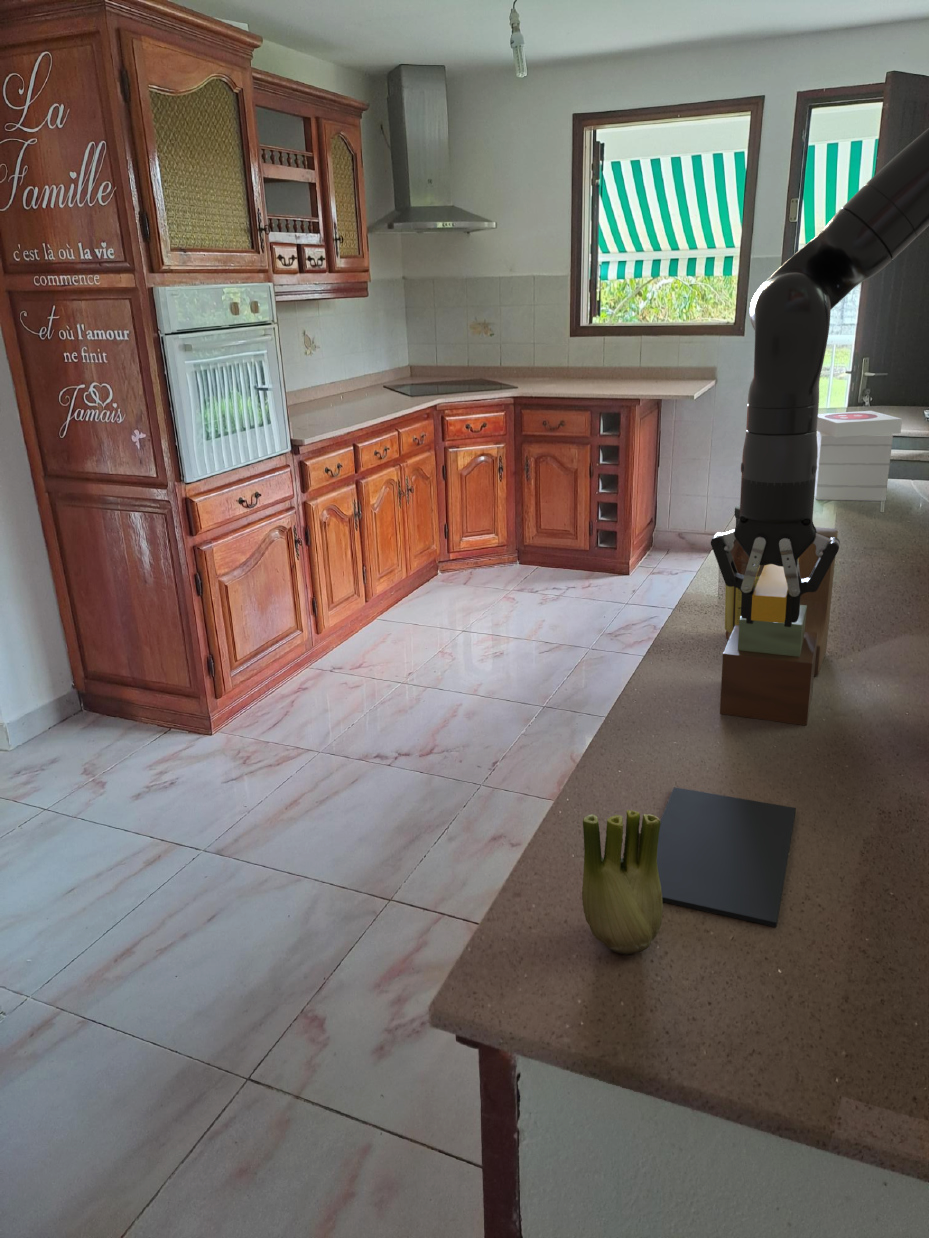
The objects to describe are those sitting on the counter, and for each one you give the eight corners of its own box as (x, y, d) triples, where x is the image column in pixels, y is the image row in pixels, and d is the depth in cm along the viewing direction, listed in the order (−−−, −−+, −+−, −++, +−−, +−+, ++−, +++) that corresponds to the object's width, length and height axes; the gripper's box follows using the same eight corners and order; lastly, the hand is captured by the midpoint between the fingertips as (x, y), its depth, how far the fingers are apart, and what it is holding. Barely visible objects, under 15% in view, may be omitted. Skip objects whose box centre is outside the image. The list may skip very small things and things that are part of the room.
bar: (768, 572, 113) (770, 550, 112) (797, 574, 112) (799, 551, 111) (750, 620, 98) (752, 595, 97) (784, 623, 97) (785, 597, 96)
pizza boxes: (881, 476, 225) (889, 404, 219) (895, 503, 198) (905, 422, 192) (801, 475, 231) (807, 405, 225) (805, 501, 204) (811, 422, 198)
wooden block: (818, 677, 116) (830, 545, 109) (782, 672, 118) (792, 543, 111) (826, 652, 123) (838, 527, 117) (792, 648, 125) (802, 525, 119)
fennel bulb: (577, 946, 71) (576, 819, 67) (602, 910, 75) (602, 788, 71) (646, 970, 68) (649, 840, 64) (667, 932, 72) (671, 806, 68)
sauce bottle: (777, 639, 128) (787, 506, 121) (749, 650, 125) (758, 514, 118) (740, 627, 133) (748, 499, 127) (713, 638, 130) (719, 507, 123)
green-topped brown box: (731, 681, 116) (736, 595, 112) (812, 690, 112) (820, 602, 108) (719, 713, 108) (724, 622, 103) (806, 725, 104) (815, 631, 99)
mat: (673, 790, 92) (673, 786, 92) (795, 812, 87) (795, 807, 87) (631, 895, 77) (631, 890, 77) (776, 927, 72) (776, 922, 72)
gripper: (851, 467, 94) (837, 617, 100) (716, 464, 100) (710, 607, 106) (849, 481, 88) (834, 641, 94) (704, 478, 93) (699, 629, 99)
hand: (769, 622), depth 100 cm, fingers closed on bar, 3 cm apart
